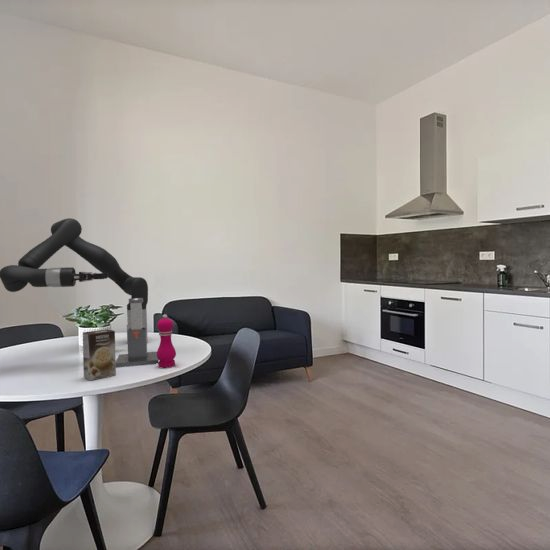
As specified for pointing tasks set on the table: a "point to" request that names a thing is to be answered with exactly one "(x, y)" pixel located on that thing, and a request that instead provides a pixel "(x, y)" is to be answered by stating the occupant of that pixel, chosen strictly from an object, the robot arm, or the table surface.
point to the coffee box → (99, 354)
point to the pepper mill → (165, 343)
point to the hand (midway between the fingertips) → (105, 276)
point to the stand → (137, 350)
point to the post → (136, 313)
